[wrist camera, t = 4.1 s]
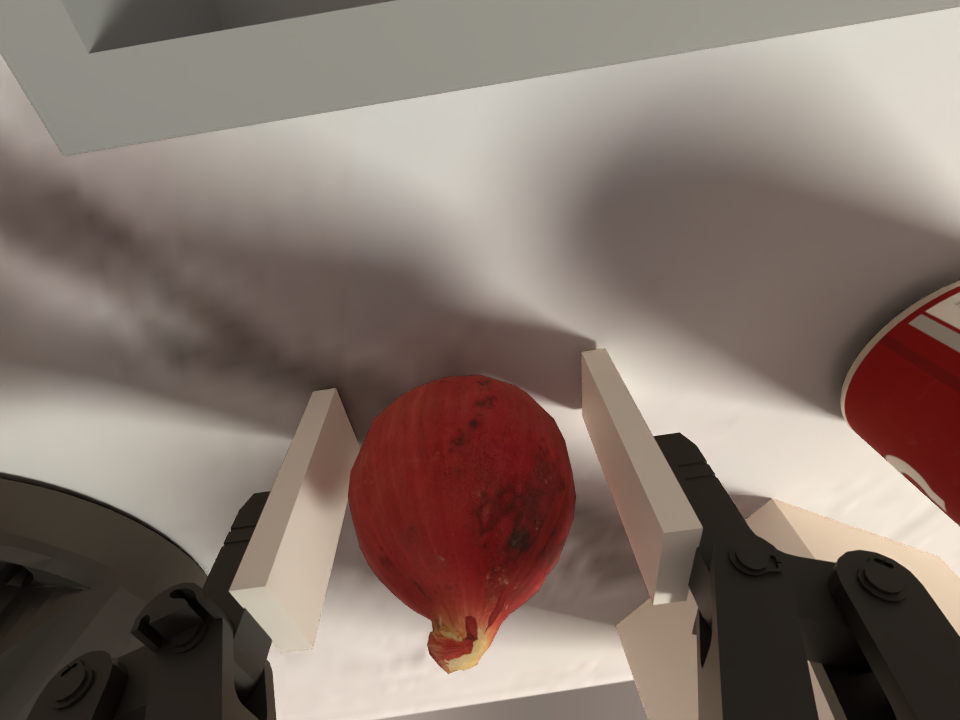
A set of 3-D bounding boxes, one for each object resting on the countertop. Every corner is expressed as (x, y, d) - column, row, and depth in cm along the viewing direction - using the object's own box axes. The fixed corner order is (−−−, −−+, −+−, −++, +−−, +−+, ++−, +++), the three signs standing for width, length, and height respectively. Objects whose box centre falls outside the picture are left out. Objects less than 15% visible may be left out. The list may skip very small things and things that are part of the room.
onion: (465, 286, 13) (482, 529, 6) (579, 398, 15) (680, 654, 9) (336, 398, 15) (244, 675, 8) (457, 480, 17) (462, 742, 11)
